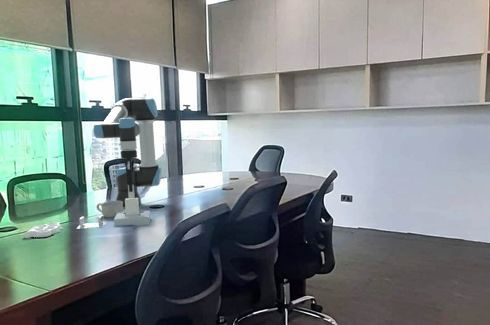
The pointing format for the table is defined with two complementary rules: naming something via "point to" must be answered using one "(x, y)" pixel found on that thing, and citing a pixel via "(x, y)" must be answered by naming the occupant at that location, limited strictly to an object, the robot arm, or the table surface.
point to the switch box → (132, 219)
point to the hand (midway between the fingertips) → (131, 197)
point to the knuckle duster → (43, 230)
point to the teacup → (111, 208)
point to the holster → (91, 225)
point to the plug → (132, 206)
